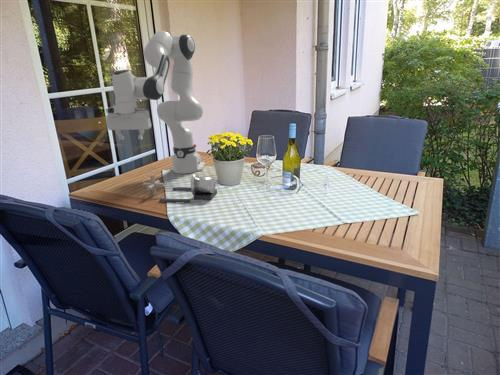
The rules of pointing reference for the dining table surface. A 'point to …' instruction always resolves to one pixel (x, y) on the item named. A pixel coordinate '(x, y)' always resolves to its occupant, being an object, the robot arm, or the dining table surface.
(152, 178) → the pipe connector
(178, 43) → the robot arm
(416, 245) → the dining table surface
